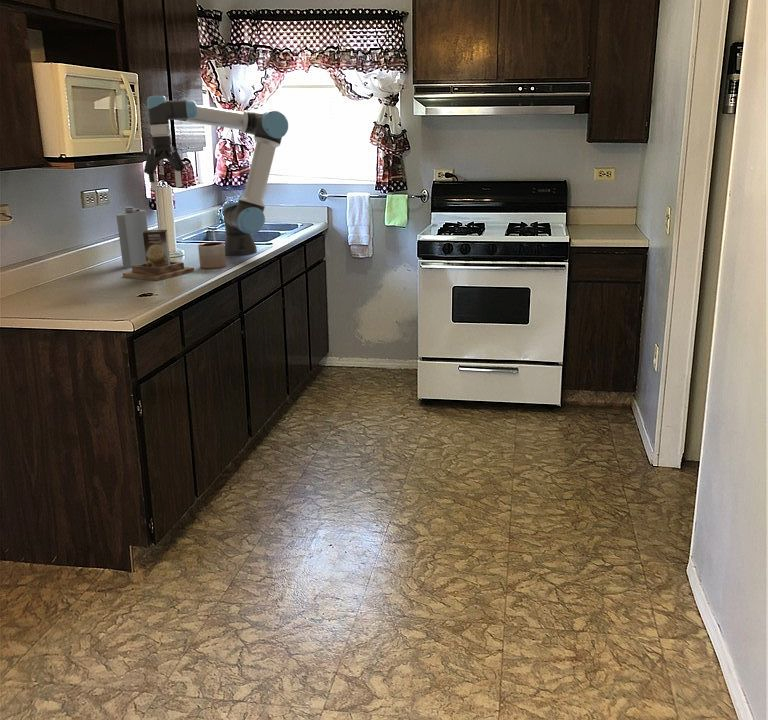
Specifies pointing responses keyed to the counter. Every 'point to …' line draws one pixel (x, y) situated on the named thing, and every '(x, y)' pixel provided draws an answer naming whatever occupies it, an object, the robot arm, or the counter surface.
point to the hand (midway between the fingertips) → (167, 188)
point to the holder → (158, 271)
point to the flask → (132, 236)
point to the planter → (212, 255)
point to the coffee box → (156, 248)
